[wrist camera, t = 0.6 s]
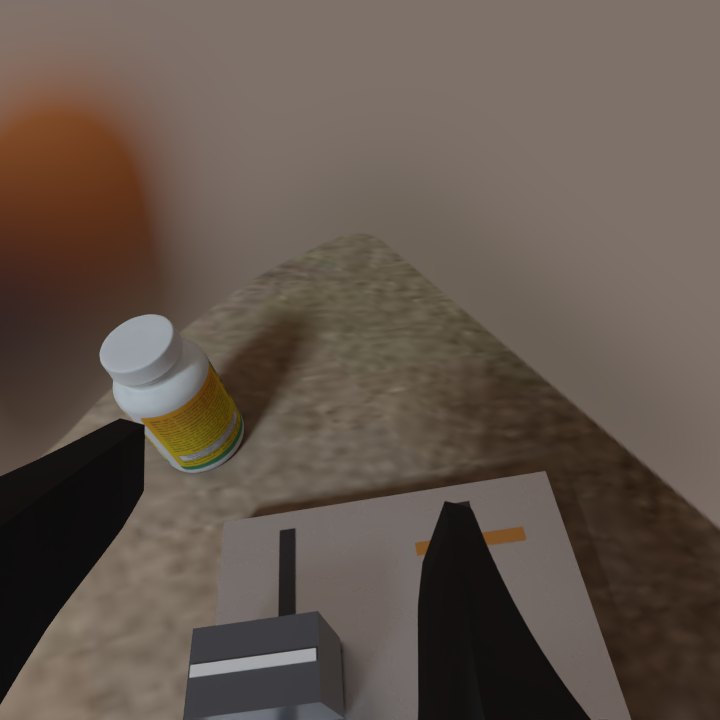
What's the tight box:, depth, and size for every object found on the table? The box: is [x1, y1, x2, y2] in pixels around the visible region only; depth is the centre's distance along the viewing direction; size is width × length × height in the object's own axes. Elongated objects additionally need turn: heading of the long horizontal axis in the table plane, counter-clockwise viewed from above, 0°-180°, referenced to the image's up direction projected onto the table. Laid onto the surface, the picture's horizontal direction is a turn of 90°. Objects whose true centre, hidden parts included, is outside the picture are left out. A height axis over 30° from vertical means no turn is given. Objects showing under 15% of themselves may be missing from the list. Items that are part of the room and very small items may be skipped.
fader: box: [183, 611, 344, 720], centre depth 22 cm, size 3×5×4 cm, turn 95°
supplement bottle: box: [100, 314, 244, 473], centre depth 32 cm, size 5×5×10 cm
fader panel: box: [215, 471, 631, 720], centre depth 23 cm, size 18×17×2 cm
